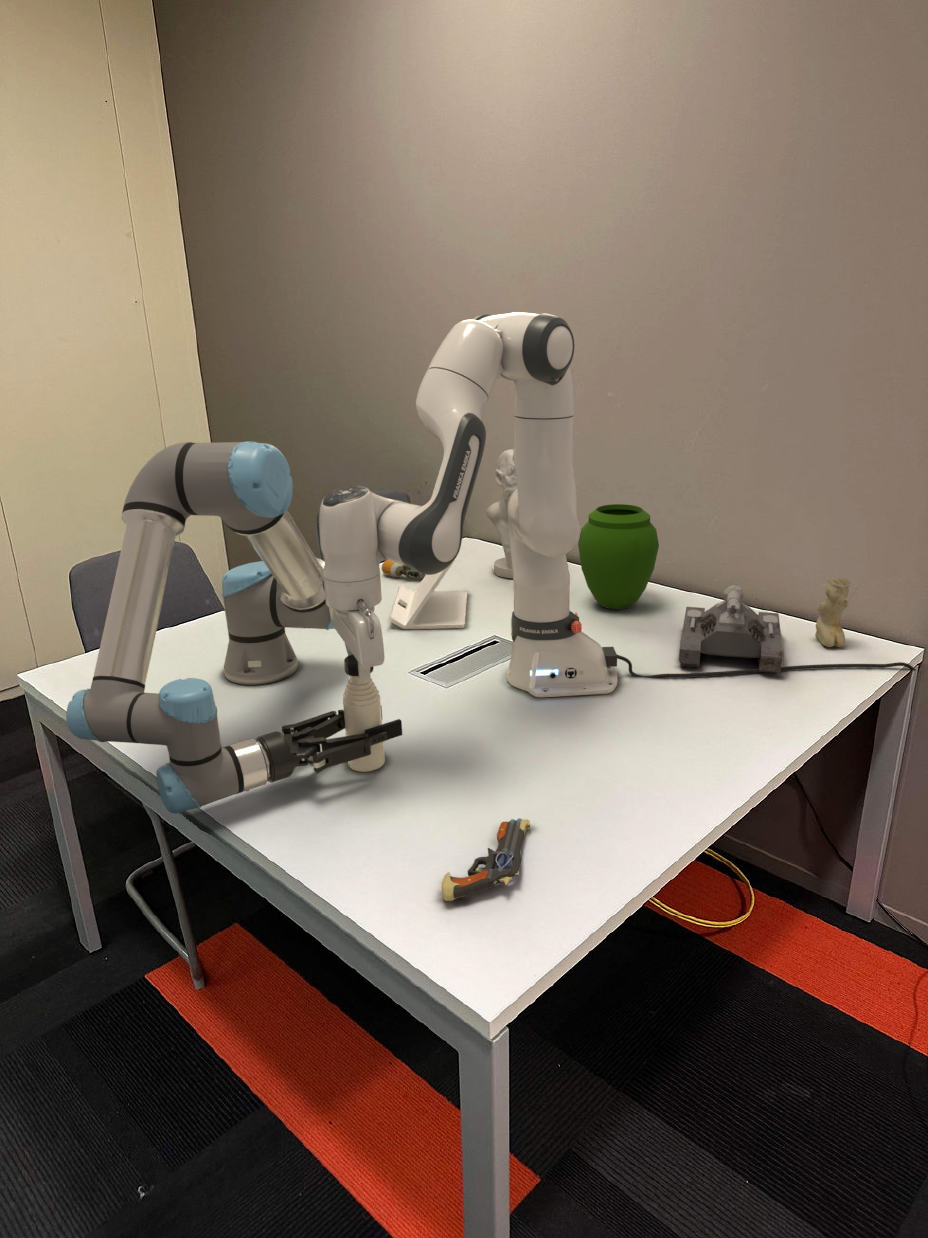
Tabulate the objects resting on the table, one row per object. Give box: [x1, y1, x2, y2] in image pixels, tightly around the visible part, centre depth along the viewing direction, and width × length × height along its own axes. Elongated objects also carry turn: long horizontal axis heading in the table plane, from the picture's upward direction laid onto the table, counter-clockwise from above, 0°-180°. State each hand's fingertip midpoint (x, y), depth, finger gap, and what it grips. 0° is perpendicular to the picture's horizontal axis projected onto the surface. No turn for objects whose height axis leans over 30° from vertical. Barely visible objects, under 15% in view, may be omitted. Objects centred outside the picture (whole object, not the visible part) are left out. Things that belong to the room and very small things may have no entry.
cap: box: [343, 655, 375, 676], centre depth 138 cm, size 5×5×2 cm
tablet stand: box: [388, 560, 468, 630], centre depth 211 cm, size 18×25×17 cm
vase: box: [577, 503, 660, 610], centre depth 210 cm, size 20×20×24 cm
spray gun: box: [381, 560, 425, 579], centre depth 244 cm, size 4×17×15 cm
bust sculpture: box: [485, 448, 517, 579], centre depth 231 cm, size 16×24×35 cm
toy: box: [678, 584, 784, 674], centre depth 182 cm, size 25×20×15 cm
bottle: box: [342, 675, 386, 773], centre depth 142 cm, size 6×6×18 cm
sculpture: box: [814, 576, 852, 648], centre depth 185 cm, size 6×7×15 cm
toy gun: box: [441, 818, 531, 902], centre depth 118 cm, size 3×19×10 cm
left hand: (390, 719), depth 145 cm, fingers closed on bottle, 6 cm apart
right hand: (359, 671), depth 139 cm, fingers closed on cap, 4 cm apart
